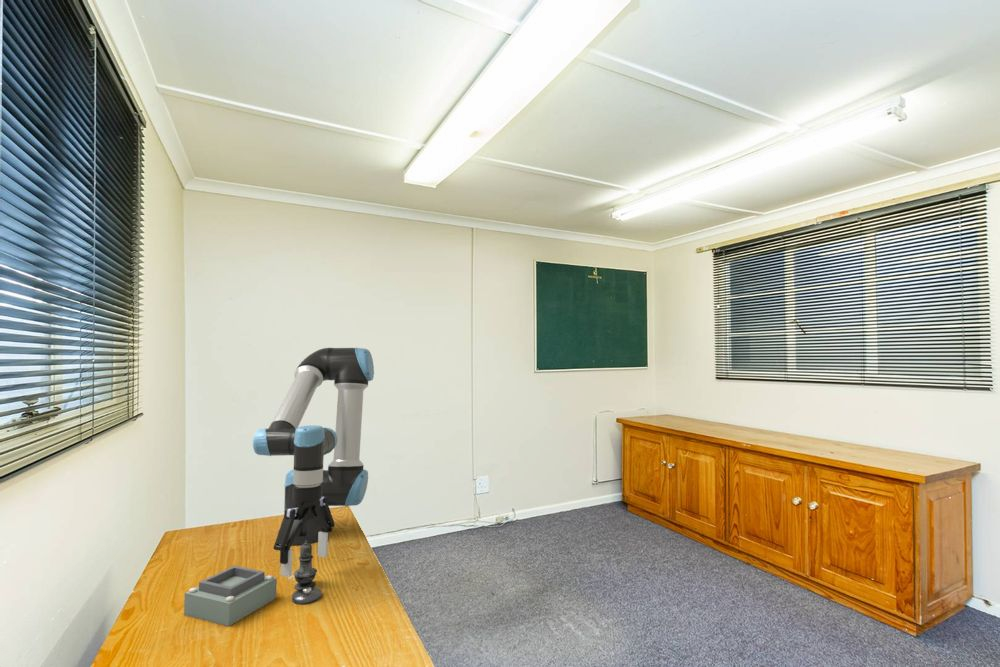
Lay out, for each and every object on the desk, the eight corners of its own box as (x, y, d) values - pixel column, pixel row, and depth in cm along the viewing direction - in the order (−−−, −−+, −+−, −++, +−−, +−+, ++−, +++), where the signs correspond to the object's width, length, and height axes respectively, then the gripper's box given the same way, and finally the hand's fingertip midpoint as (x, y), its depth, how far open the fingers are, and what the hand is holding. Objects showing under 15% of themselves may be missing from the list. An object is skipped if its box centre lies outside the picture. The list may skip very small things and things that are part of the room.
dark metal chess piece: (308, 592, 128) (309, 545, 128) (288, 589, 129) (289, 543, 129) (321, 582, 133) (322, 537, 134) (301, 579, 134) (303, 535, 135)
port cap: (305, 589, 129) (305, 580, 129) (327, 593, 127) (327, 585, 127) (285, 601, 123) (285, 592, 123) (308, 606, 120) (308, 597, 120)
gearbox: (227, 587, 130) (228, 560, 130) (276, 598, 124) (277, 569, 125) (176, 612, 117) (177, 582, 117) (228, 626, 111) (229, 594, 111)
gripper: (327, 473, 145) (325, 547, 144) (260, 494, 122) (256, 582, 120) (348, 475, 143) (346, 550, 141) (284, 497, 119) (280, 587, 118)
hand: (305, 565), depth 131 cm, fingers open, 13 cm apart
